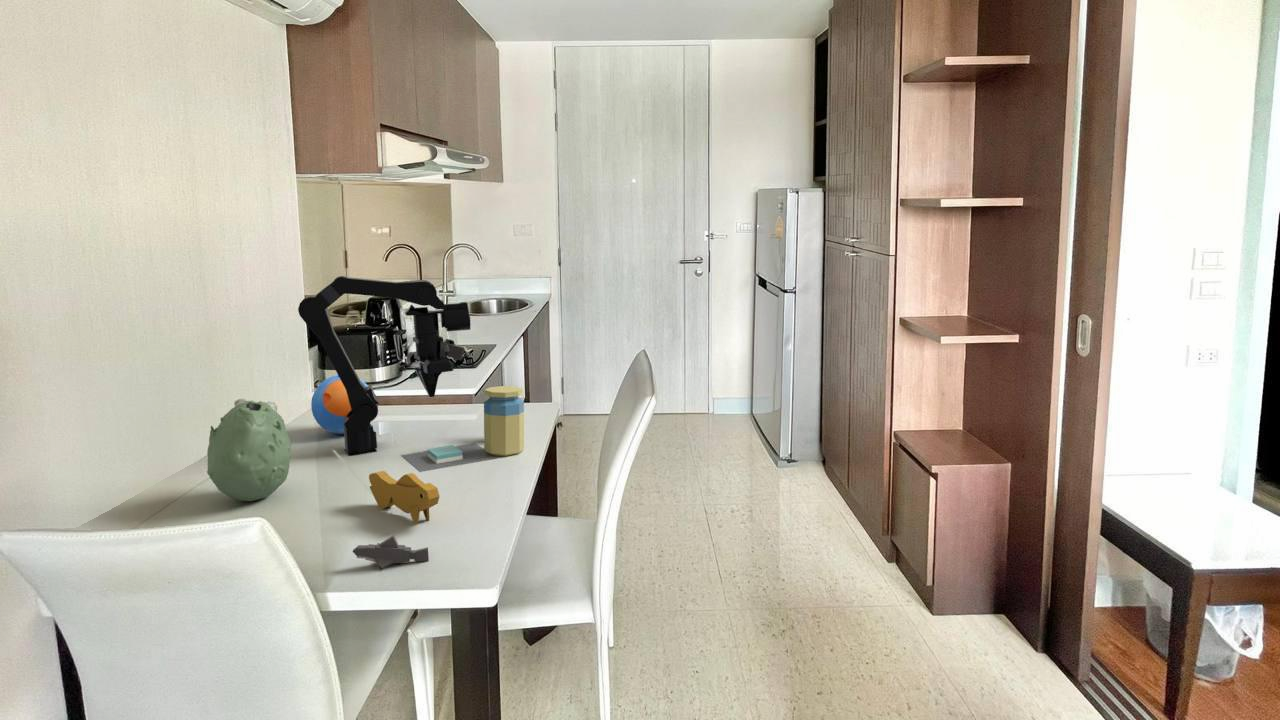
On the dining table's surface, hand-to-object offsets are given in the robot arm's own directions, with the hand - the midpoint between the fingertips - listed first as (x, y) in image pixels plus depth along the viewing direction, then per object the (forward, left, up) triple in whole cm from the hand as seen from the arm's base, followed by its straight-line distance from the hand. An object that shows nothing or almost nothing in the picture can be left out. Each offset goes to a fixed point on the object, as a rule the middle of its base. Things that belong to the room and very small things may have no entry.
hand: (431, 396), depth 214 cm
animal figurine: (-28, -69, -12) cm, 76 cm away
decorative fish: (-20, -47, -12) cm, 53 cm away
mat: (-1, -14, -12) cm, 18 cm away
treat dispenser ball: (-16, +26, -12) cm, 33 cm away
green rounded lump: (-43, -19, -12) cm, 49 cm away
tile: (-2, -11, -11) cm, 15 cm away
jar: (+11, -18, -12) cm, 24 cm away
